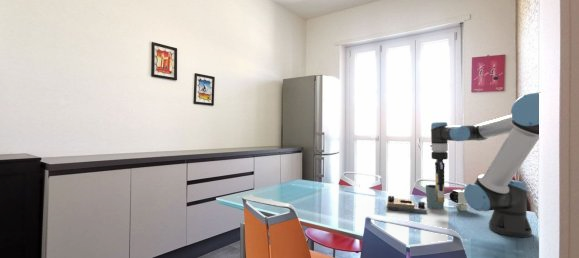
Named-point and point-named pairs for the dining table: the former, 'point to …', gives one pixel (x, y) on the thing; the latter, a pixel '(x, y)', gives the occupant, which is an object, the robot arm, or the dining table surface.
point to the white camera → (459, 199)
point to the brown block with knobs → (405, 205)
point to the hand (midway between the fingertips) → (440, 195)
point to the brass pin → (439, 199)
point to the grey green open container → (433, 197)
